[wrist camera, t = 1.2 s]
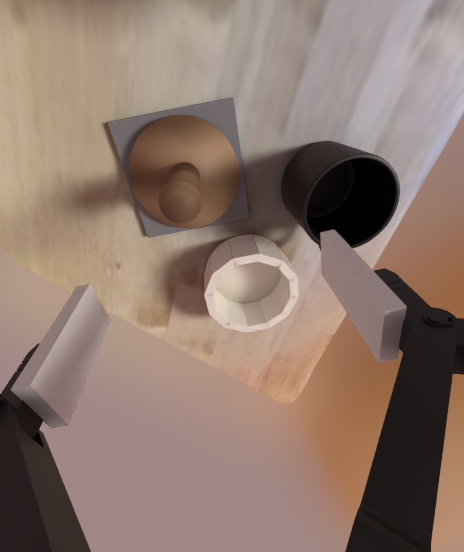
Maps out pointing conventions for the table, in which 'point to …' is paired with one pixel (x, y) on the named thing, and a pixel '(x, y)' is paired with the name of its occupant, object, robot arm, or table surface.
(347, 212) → the mug
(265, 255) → the bowl
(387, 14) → the table surface
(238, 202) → the mat
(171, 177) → the lid
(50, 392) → the robot arm
